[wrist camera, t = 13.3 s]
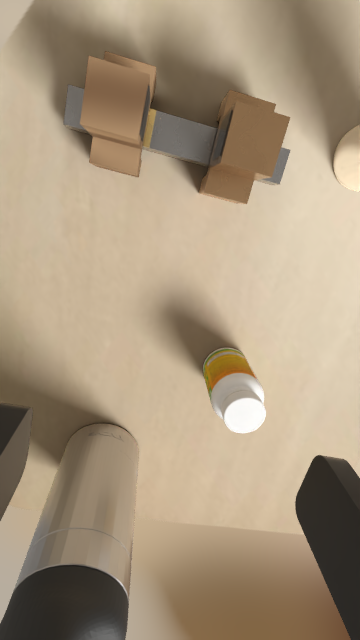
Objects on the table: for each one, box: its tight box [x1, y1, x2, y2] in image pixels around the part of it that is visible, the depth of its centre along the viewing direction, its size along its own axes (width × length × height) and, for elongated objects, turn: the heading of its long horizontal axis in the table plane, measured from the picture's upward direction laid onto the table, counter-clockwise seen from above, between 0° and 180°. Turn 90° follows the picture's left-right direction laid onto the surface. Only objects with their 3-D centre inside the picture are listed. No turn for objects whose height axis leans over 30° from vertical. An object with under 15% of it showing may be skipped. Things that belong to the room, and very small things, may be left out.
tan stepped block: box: [80, 51, 156, 177], centre depth 27 cm, size 8×4×9 cm, turn 166°
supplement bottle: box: [203, 348, 266, 433], centre depth 36 cm, size 5×5×10 cm
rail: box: [64, 84, 290, 204], centre depth 28 cm, size 8×20×9 cm, turn 76°
